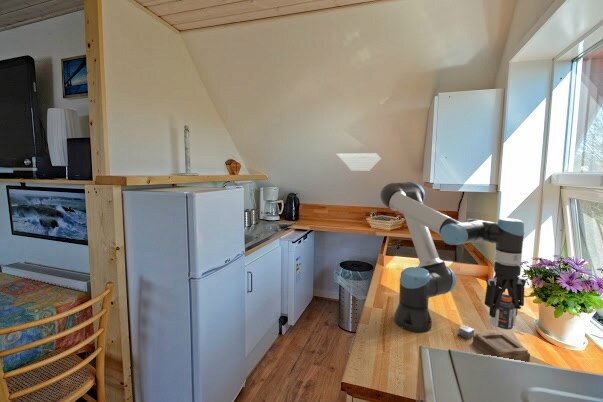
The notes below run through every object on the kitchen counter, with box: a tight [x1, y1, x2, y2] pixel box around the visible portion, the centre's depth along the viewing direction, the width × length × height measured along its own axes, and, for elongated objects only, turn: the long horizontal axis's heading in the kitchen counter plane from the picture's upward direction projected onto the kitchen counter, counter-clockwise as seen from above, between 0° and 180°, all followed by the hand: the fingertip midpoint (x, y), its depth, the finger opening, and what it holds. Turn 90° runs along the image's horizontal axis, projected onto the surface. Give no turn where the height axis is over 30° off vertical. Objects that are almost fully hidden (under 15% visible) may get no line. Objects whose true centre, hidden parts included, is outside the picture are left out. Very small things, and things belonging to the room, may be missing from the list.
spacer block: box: [458, 324, 475, 340], centre depth 112 cm, size 4×4×3 cm
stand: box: [472, 331, 531, 363], centre depth 102 cm, size 12×12×4 cm
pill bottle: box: [497, 293, 515, 331], centre depth 100 cm, size 6×6×11 cm
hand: (502, 324), depth 101 cm, fingers closed on pill bottle, 6 cm apart
